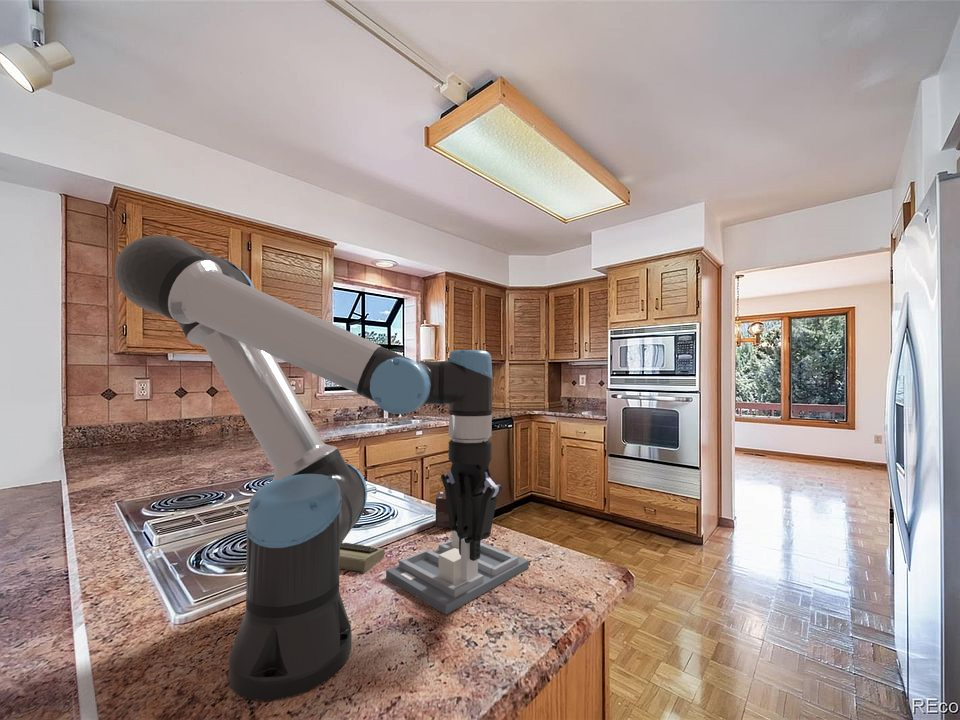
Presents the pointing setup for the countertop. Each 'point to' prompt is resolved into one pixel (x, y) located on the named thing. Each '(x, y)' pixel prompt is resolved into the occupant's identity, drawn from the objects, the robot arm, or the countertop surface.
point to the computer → (359, 557)
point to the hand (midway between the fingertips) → (469, 576)
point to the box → (442, 511)
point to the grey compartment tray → (426, 585)
